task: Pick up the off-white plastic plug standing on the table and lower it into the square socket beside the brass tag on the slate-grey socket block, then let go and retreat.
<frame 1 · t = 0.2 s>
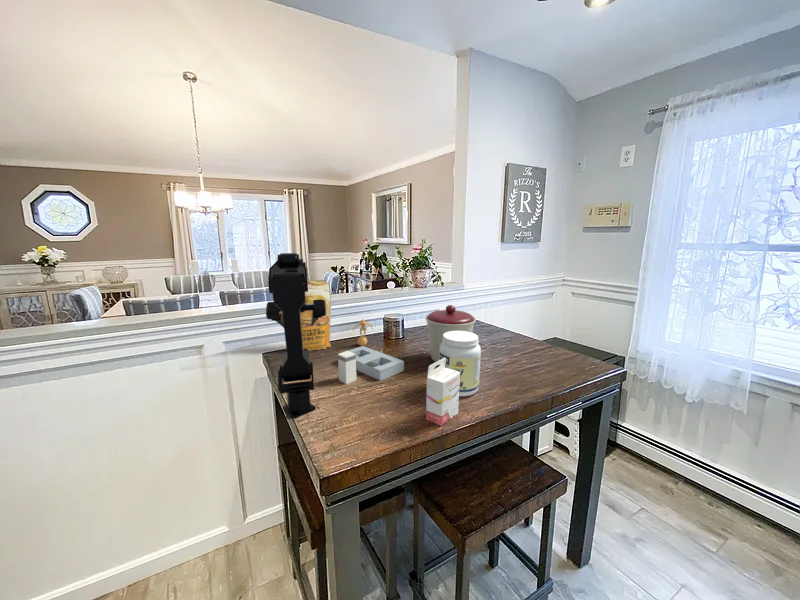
hand: (298, 326, 115), 15 cm above the table, tool tilted 30°, fingers open, 9 cm apart
plug: (347, 380, 107), on the table
pancake mix bag: (310, 349, 135), on the table
ink cartridge box: (442, 417, 86), on the table
supplement tub: (458, 389, 101), on the table
figurine: (363, 346, 138), on the table
canister: (449, 361, 123), on the table
socket block: (370, 366, 118), on the table
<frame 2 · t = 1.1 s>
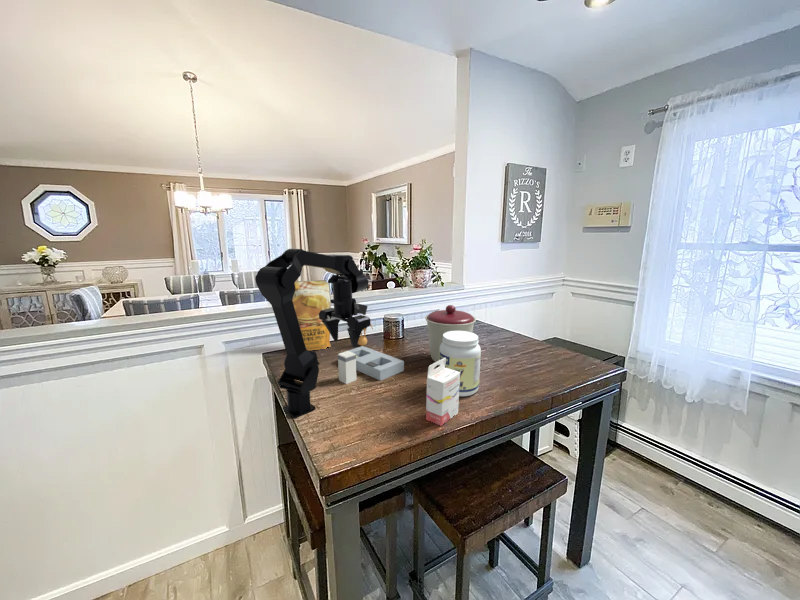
hand: (345, 344, 105), 12 cm above the table, tool pointing down, fingers open, 9 cm apart
nothing on the table moved.
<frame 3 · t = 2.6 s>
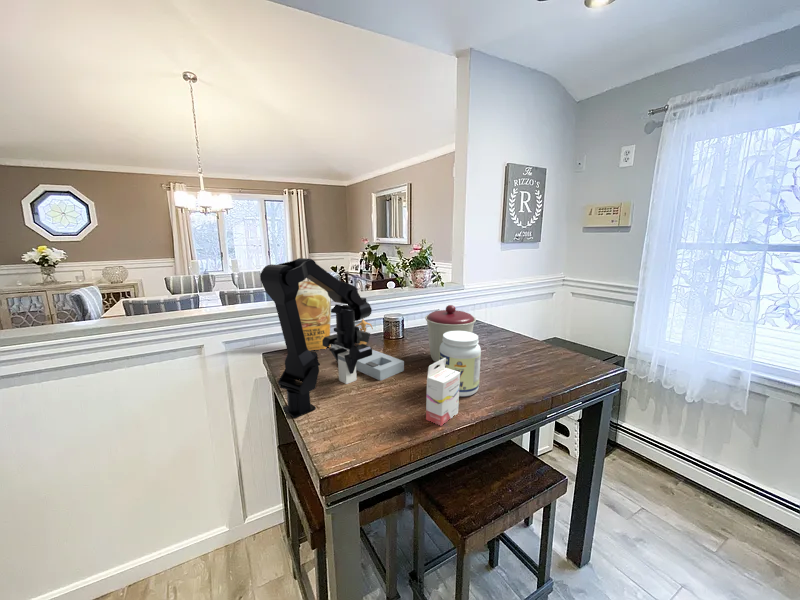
hand: (347, 371, 106), 3 cm above the table, tool pointing down, fingers closed on plug, 4 cm apart
plug: (347, 380, 107), on the table, touching gripper
everything else where it was.
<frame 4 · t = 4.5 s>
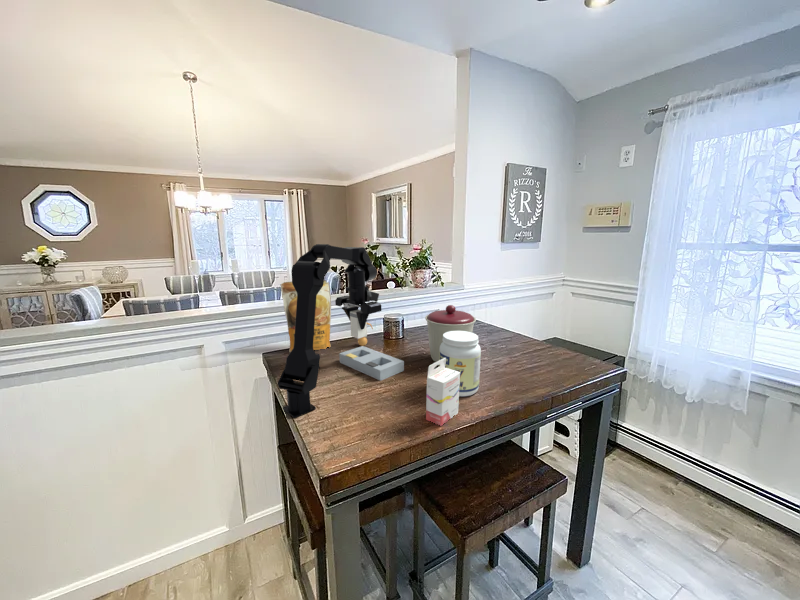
hand: (358, 327, 116), 14 cm above the table, tool pointing down, fingers closed on plug, 4 cm apart
plug: (359, 336, 117), point 11 cm above the table, touching gripper
everything else where it was.
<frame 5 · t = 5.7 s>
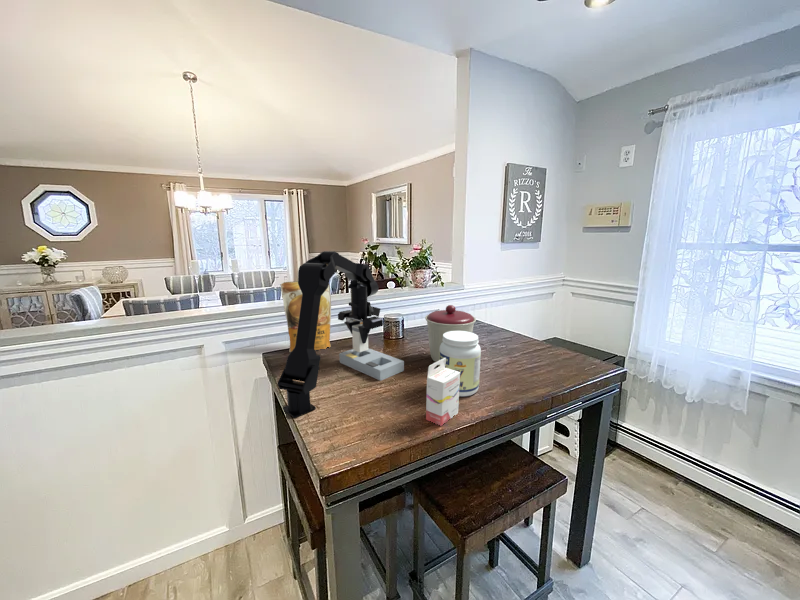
hand: (360, 341, 120), 8 cm above the table, tool pointing down, fingers closed on plug, 4 cm apart
plug: (360, 349, 120), point 5 cm above the table, touching gripper
everything else where it was.
when the fingers open (4 cm above the table, at t = 6.6 s): plug stays where it is, resting on socket block.
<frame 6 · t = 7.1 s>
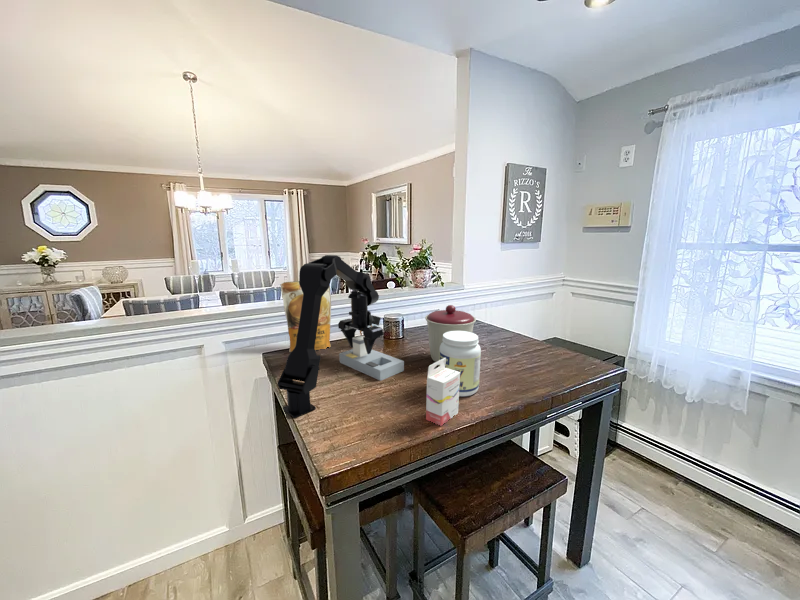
hand: (360, 350, 120), 4 cm above the table, tool pointing down, fingers open, 9 cm apart
plug: (361, 360, 121), resting on socket block
everything else where it was.
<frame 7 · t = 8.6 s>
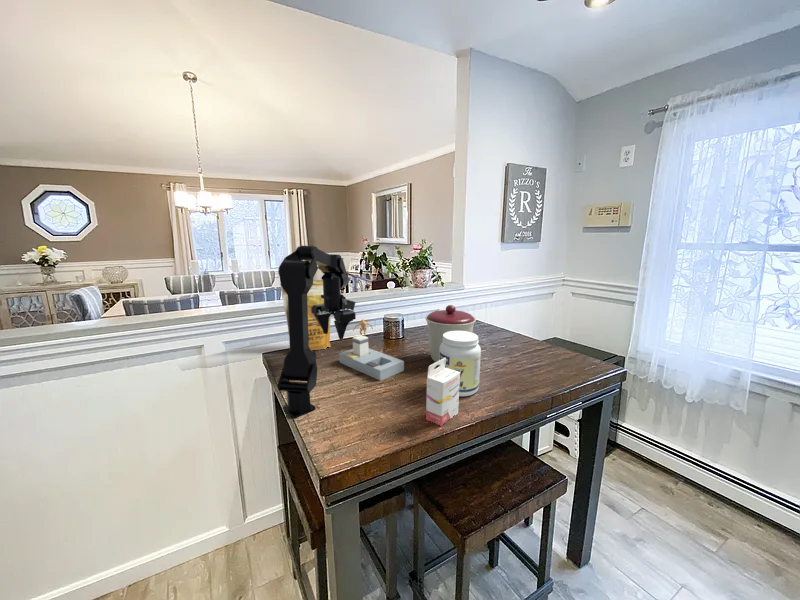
hand: (333, 336, 115), 11 cm above the table, tool pointing down, fingers open, 9 cm apart
nothing on the table moved.
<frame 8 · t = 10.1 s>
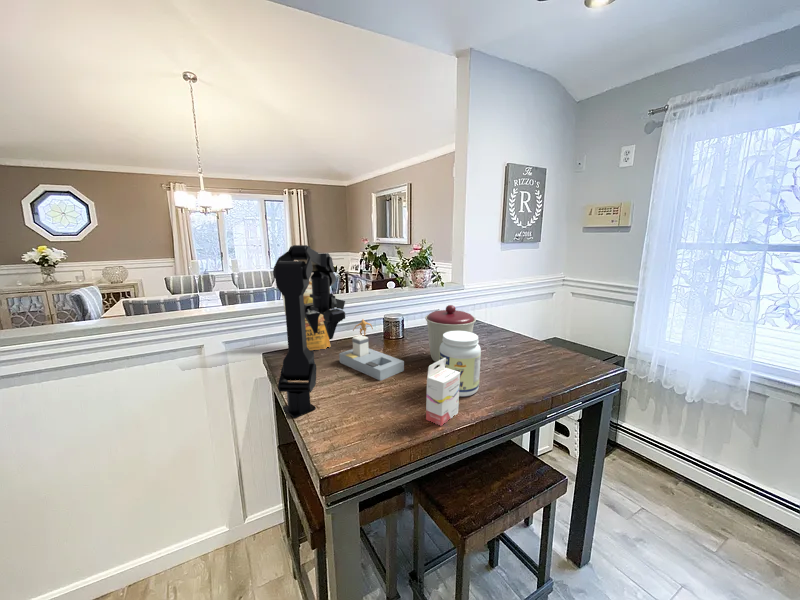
hand: (323, 335, 113), 12 cm above the table, tool pointing down, fingers open, 9 cm apart
nothing on the table moved.
at the end: plug 0.0 cm from the target spot on the socket block, point 0.5 cm above the socket block's base; plug tilted 0°; the gripper is holding nothing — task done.
